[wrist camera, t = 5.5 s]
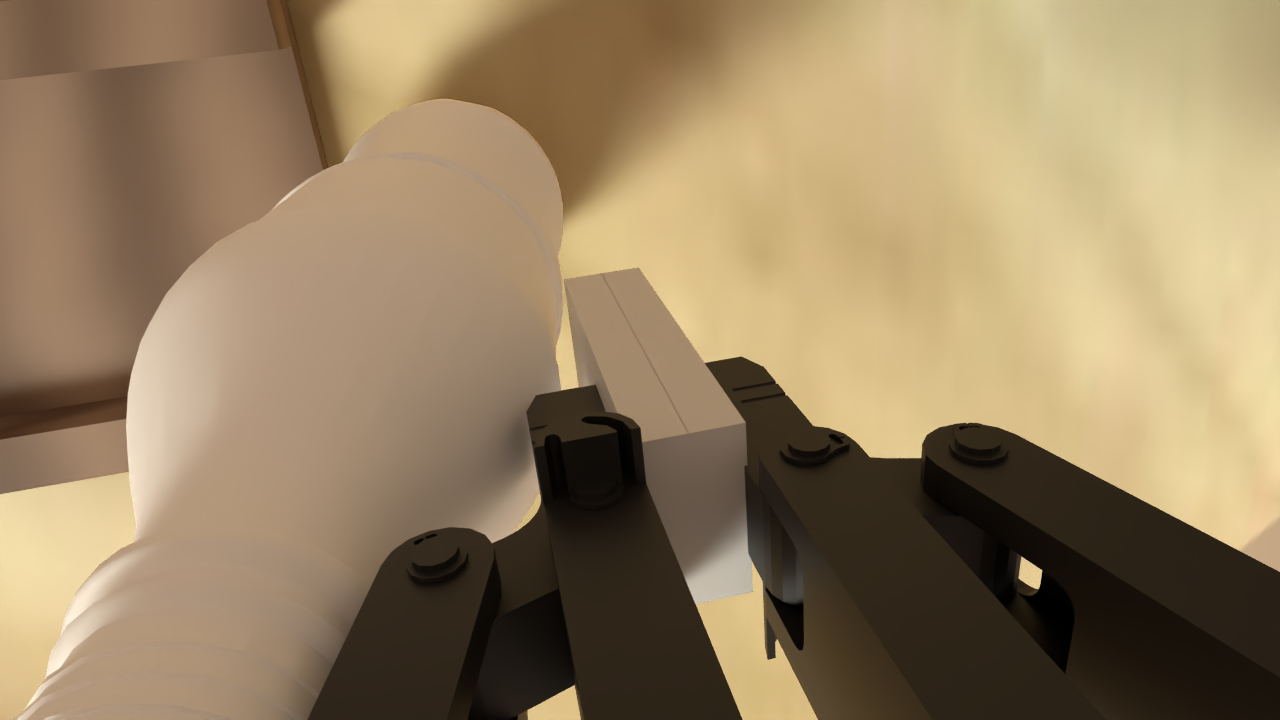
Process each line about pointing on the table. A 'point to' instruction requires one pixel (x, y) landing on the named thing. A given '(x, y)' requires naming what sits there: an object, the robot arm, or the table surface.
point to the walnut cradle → (124, 195)
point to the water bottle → (322, 419)
